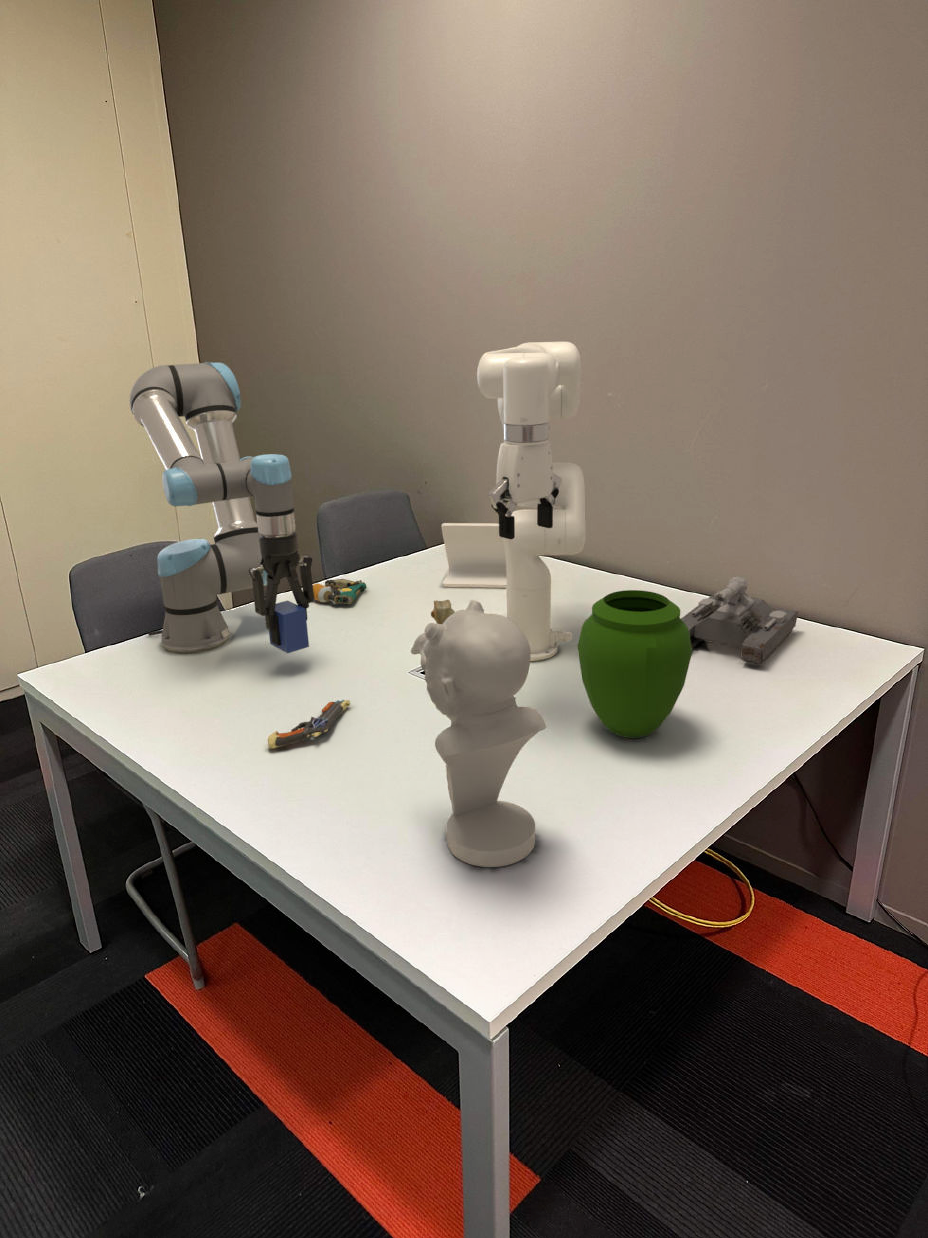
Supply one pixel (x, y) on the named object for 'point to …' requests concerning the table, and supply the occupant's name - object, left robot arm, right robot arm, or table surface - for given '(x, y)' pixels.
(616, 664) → the vase
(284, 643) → the block
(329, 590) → the spray gun
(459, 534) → the tablet stand
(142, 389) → the left robot arm
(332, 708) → the toy gun
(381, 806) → the table surface
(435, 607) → the sculpture
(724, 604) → the toy
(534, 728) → the bust sculpture
